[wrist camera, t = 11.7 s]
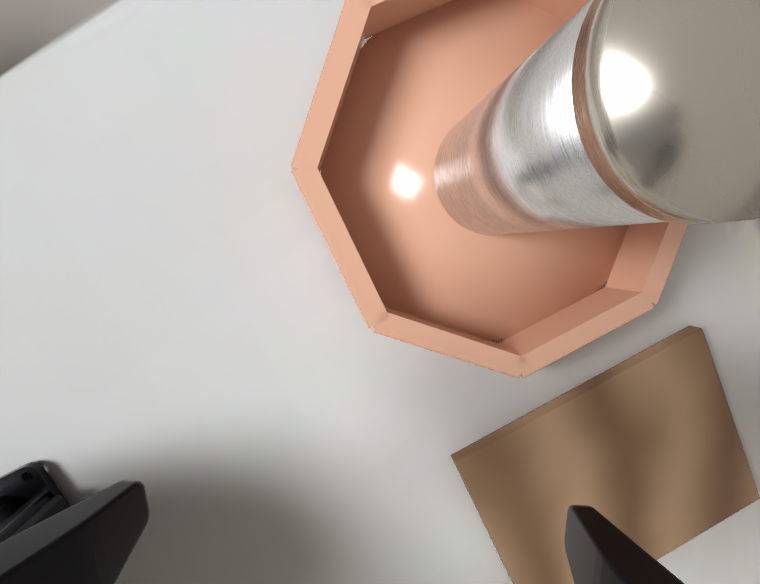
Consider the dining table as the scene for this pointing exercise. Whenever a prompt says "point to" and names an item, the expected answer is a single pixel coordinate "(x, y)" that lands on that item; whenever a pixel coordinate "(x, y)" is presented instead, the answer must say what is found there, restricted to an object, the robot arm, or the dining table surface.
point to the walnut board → (613, 461)
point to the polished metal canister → (616, 124)
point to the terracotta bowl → (422, 205)
